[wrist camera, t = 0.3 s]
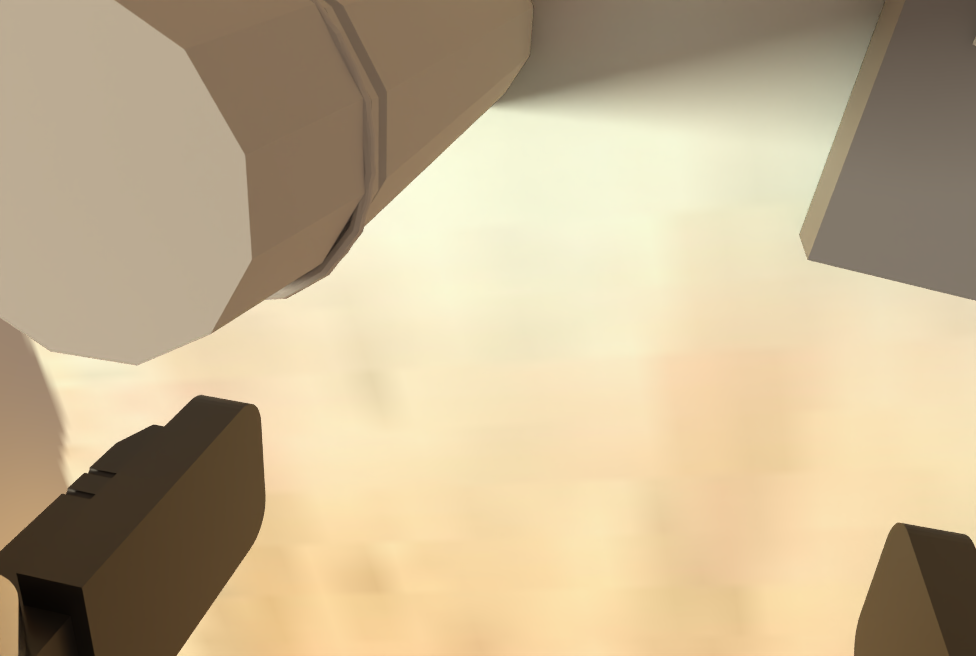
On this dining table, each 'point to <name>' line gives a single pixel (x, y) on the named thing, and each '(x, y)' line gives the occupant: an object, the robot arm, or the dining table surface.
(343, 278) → the dining table surface
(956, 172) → the socket block
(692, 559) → the dining table surface
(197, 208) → the water bottle
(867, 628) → the robot arm
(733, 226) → the dining table surface
